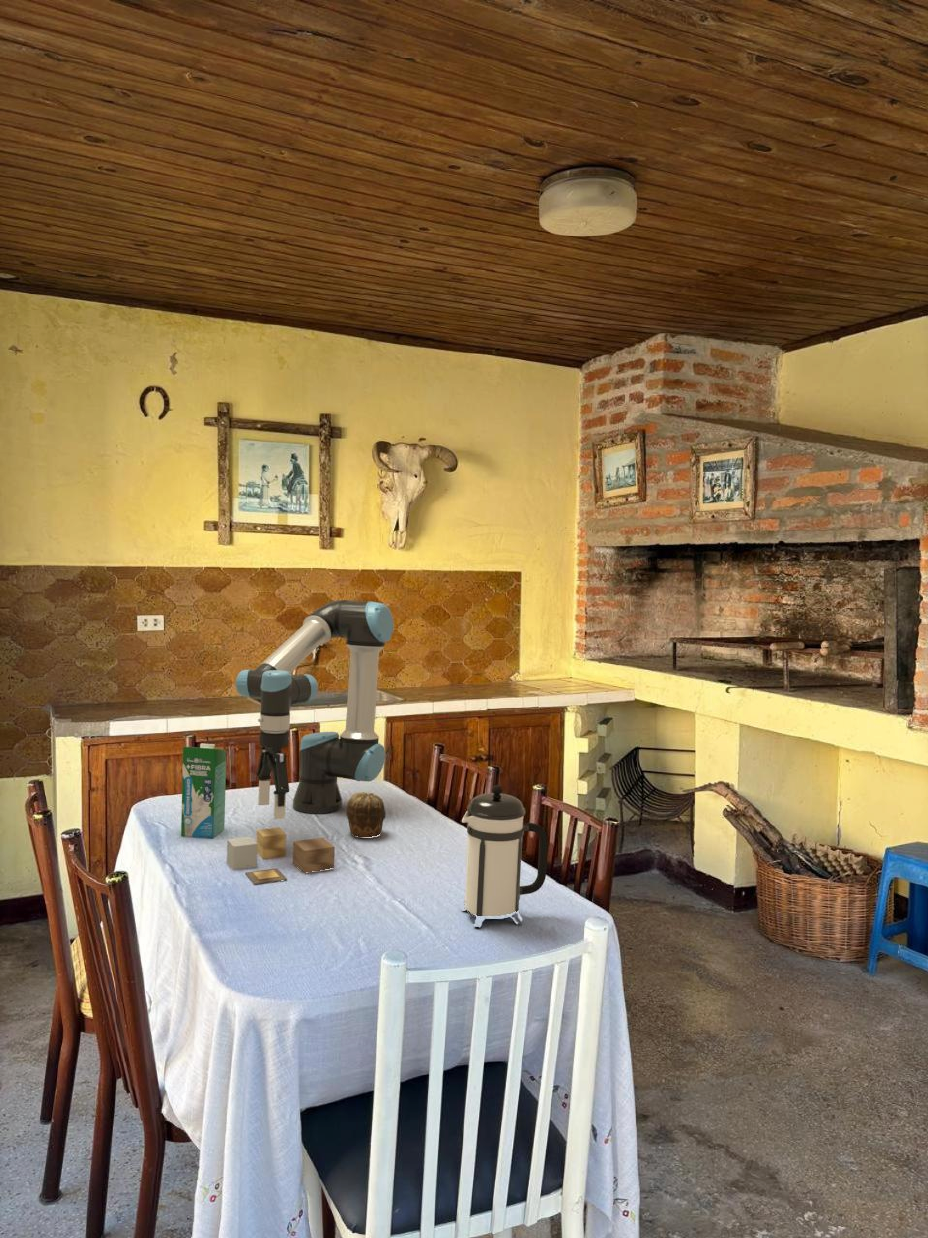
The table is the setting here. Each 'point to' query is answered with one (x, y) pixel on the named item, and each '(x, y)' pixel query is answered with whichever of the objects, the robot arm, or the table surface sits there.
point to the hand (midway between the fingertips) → (271, 811)
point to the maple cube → (271, 843)
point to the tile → (265, 876)
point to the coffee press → (498, 854)
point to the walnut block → (313, 855)
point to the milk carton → (203, 791)
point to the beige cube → (241, 853)
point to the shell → (365, 814)
